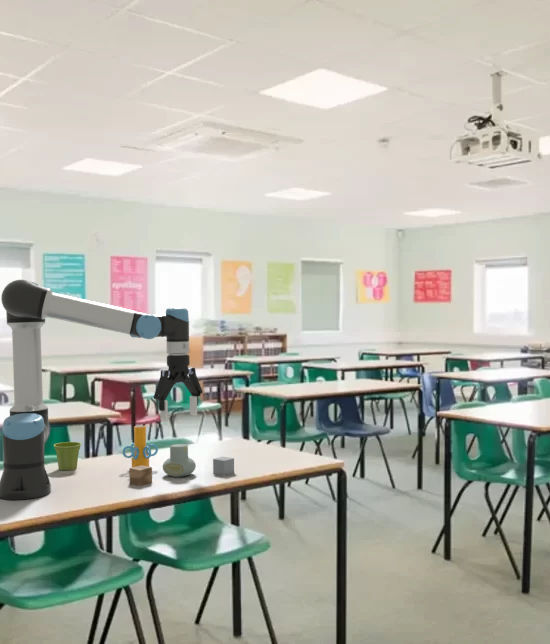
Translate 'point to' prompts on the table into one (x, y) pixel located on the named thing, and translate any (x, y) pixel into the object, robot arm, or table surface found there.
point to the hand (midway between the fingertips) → (179, 418)
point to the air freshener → (179, 461)
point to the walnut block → (140, 475)
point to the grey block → (223, 466)
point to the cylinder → (140, 448)
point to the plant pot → (67, 455)
